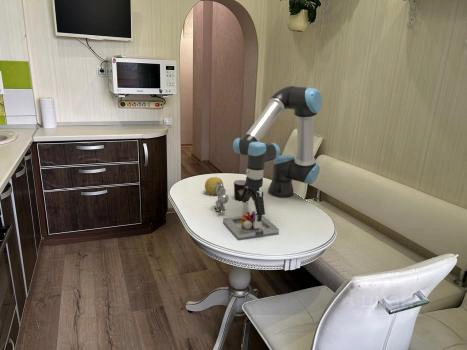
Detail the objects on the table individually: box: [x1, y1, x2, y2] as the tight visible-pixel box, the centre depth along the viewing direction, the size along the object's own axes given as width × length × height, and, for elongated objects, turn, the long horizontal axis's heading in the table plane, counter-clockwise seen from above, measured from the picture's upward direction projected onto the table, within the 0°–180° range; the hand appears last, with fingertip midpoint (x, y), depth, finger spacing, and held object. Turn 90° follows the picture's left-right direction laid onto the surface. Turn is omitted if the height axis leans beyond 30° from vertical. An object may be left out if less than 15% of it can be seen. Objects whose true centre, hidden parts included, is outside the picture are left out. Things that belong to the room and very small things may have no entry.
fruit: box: [204, 176, 224, 196], centre depth 202 cm, size 10×11×10 cm
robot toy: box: [215, 182, 229, 213], centre depth 177 cm, size 15×6×15 cm, turn 13°
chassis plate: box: [222, 214, 280, 241], centre depth 162 cm, size 20×18×2 cm
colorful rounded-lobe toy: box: [241, 210, 262, 229], centre depth 162 cm, size 8×10×7 cm
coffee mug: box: [233, 179, 246, 202], centre depth 196 cm, size 12×9×10 cm
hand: (250, 221), depth 162 cm, fingers open, 13 cm apart
